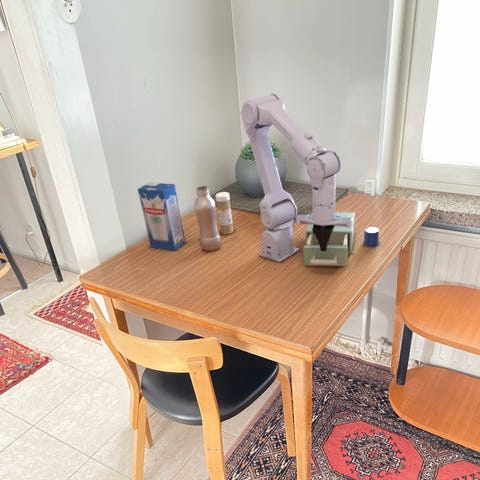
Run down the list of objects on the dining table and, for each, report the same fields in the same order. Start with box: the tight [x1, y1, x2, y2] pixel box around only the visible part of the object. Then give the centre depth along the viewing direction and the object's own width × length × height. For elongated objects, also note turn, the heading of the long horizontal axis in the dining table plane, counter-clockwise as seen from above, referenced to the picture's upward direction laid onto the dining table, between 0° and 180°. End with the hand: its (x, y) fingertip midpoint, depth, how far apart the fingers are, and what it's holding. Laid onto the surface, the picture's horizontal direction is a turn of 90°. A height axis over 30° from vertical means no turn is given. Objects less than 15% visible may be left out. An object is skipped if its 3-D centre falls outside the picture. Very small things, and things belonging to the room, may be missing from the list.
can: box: [363, 226, 380, 248], centre depth 145 cm, size 4×4×4 cm
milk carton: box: [137, 182, 186, 252], centre depth 156 cm, size 10×6×20 cm, turn 62°
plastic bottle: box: [193, 185, 222, 252], centre depth 150 cm, size 6×7×20 cm
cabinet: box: [305, 211, 355, 255], centre depth 147 cm, size 14×13×7 cm
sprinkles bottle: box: [214, 191, 234, 235], centre depth 161 cm, size 5×5×13 cm
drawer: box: [303, 233, 349, 267], centre depth 138 cm, size 18×12×6 cm, turn 166°
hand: (324, 249), depth 131 cm, fingers closed
